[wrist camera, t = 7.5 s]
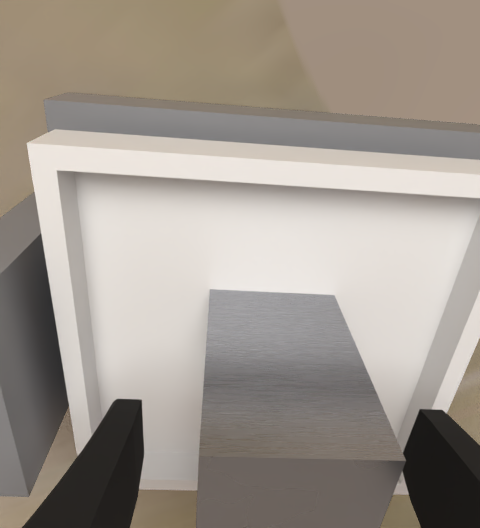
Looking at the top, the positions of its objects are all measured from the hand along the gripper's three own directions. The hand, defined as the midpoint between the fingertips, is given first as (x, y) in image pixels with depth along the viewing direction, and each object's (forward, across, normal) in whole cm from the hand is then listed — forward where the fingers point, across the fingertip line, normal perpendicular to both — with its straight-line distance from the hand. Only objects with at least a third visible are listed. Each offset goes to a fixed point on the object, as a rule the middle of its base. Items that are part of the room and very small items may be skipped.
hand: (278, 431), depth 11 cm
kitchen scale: (+7, +1, 0) cm, 7 cm away
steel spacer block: (+4, 0, 0) cm, 4 cm away
